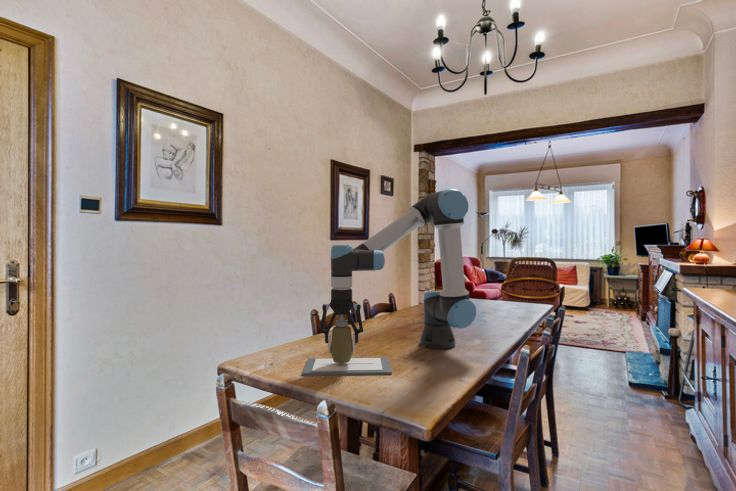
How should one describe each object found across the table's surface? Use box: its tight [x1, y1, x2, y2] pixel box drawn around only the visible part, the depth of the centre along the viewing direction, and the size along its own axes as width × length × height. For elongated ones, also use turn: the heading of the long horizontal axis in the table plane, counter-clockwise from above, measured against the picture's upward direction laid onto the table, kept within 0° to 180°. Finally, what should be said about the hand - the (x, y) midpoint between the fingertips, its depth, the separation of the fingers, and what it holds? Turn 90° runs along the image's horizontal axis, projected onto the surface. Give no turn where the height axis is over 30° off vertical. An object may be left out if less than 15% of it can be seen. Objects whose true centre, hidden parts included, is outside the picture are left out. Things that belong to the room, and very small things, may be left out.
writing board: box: [301, 356, 393, 377], centre depth 137 cm, size 30×16×1 cm, turn 92°
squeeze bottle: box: [330, 314, 354, 363], centre depth 137 cm, size 8×8×18 cm
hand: (341, 352), depth 137 cm, fingers closed on squeeze bottle, 8 cm apart
